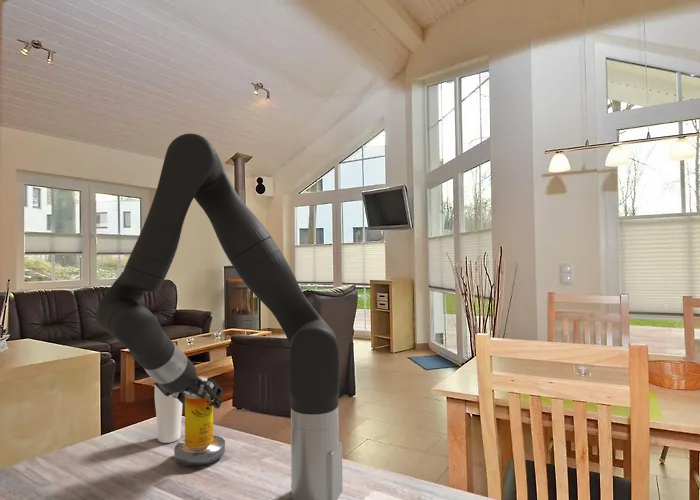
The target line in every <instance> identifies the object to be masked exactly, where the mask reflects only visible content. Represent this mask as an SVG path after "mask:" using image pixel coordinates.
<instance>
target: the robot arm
mask: <svg viewBox="0 0 700 500" xmlns="http://www.w3.org/2000/svg"><path fill="white" fill-rule="evenodd" d="M193 199H194V200H195V201H196V202H197V203H198V205H199V206H200V208H201V209H202V210H203V212H204V213H205V214H206V216H207V218H208V219H209V222H210V224H211V226H212V228H213V230H214V233H215V235H216V237H217V240H218V242H219V243H220V246H221V248H222V250H223V252H224V254H225V255H226V257H227V259H228V261H229V262H230V264H231V265H232V267H233V268H234V270H235V271H236V273H237V275H238V276H239V278H240V279H241V280H242V282H244V284H245V286H246V287H248V289H249V290H250V291H251V292H252V293H253V295H255V297H257V298H258V300H259V301H260V302H262V304H263V305H264V306H265V307H267V309H268V310H269V311H270V312H271V313H272V314H273V316H274V317H275V319H276V321H277V322H278V324H279V326H280V328H281V329H282V332H283V334H285V337H286V338H287V340H288V343H289V345H290V347H289V395H290V453H291V455H290V458H291V459H290V463H291V465H290V470H291V475H290V476H291V478H290V479H291V482H290V483H291V484H290V488H291V500H338V498H339V497H340V495H341V494H342V491H343V443H342V441H341V440H340V439H339V437H340V436H339V435H340V434H339V431H340V430H339V423H340V421H339V419H340V418H339V417H340V416H339V395H340V346H339V341H338V339H337V336H336V334H335V331H334V330H333V329H332V328H331V327H330V325H329V324H327V322H326V321H325V320H324V319H323V317H322V316H321V315H320V314H319V313H318V311H317V310H316V309H315V307H314V306H313V305H312V303H310V300H309V299H308V298H307V297H306V295H305V294H304V293H303V290H302V288H301V287H300V285H299V282H298V281H297V280H298V279H297V278H296V276H295V275H294V272H293V271H292V268H291V267H290V265H289V263H288V262H287V259H286V257H285V256H284V255H283V253H282V251H281V250H280V248H279V246H278V245H277V243H276V241H275V240H274V239H273V237H272V235H271V234H270V233H269V231H268V230H267V229H266V227H265V226H264V225H263V223H262V222H261V221H260V219H258V217H257V215H255V214H254V213H253V211H251V209H250V208H249V207H248V206H247V205H246V204H245V202H244V201H243V200H242V198H241V197H240V196H239V194H238V193H237V191H236V190H235V187H234V185H233V184H232V182H231V179H230V177H229V176H228V174H227V172H226V170H225V168H224V165H223V163H222V161H221V158H220V156H219V154H218V152H217V150H216V148H215V147H214V146H213V144H212V143H211V142H210V141H209V139H207V138H206V137H205V136H202V135H200V134H197V133H191V132H190V133H183V134H181V135H179V136H177V137H176V138H174V139H173V140H172V141H171V143H169V145H168V147H167V150H166V153H165V157H164V160H163V164H162V167H161V171H160V176H159V179H158V184H157V187H156V190H155V193H154V196H153V199H152V203H151V205H150V207H149V210H148V213H147V215H146V219H145V221H144V224H143V226H142V229H141V230H140V233H139V235H138V237H137V240H136V242H135V243H134V246H133V249H132V250H131V253H130V254H129V255H130V256H129V257H128V259H127V261H126V264H125V266H124V269H123V271H122V272H121V274H120V275H119V276H118V277H117V278H116V280H115V281H114V282H113V283H112V284H111V286H110V287H109V288H108V290H107V291H106V292H105V294H104V295H103V297H102V298H101V300H100V301H99V303H98V306H97V307H96V308H97V309H96V314H95V320H96V323H97V325H98V327H99V328H100V329H101V330H102V331H104V332H106V333H107V334H109V336H111V337H113V338H115V339H116V340H117V341H119V342H120V343H121V344H122V345H123V346H125V348H127V349H128V352H129V353H130V355H131V356H132V358H133V359H134V360H135V361H136V362H137V363H138V364H139V365H140V366H141V367H142V368H143V369H144V371H145V372H146V374H147V375H149V377H150V378H151V379H152V380H154V386H155V385H156V386H157V387H158V389H159V390H160V391H161V392H162V393H163V394H164V395H165V396H169V395H172V397H173V398H177V399H178V400H179V401H180V402H181V403H182V404H183V405H184V406H185V394H188V395H192V396H194V397H196V398H198V399H203V398H204V399H206V400H208V401H209V402H210V403H211V404H212V405H213V408H215V409H220V407H221V406H222V403H223V399H222V398H221V397H222V395H223V393H224V389H223V388H222V387H221V386H220V384H219V383H217V382H216V381H215V379H213V378H212V377H210V378H208V379H207V381H203V380H202V379H200V378H199V376H198V375H197V369H196V366H195V364H194V363H193V362H192V361H191V360H190V358H189V357H188V355H186V354H185V352H184V351H183V350H182V349H181V348H180V347H179V346H178V345H177V344H175V343H174V342H173V341H172V339H171V338H170V337H169V335H167V334H166V333H165V332H164V331H163V328H162V326H161V324H160V321H158V319H157V318H156V316H155V315H154V313H152V312H151V311H150V310H149V309H148V308H146V306H144V305H142V304H140V303H139V302H140V300H141V298H142V297H143V296H144V295H145V293H154V292H157V291H159V290H160V288H161V287H162V285H163V283H164V282H165V279H166V277H167V275H168V272H169V269H170V268H171V265H172V263H173V260H174V258H175V255H176V253H177V249H178V246H179V243H180V239H181V234H182V231H183V226H184V222H185V219H186V216H187V214H188V211H189V210H190V209H189V208H190V207H191V203H192V201H193ZM201 387H203V390H202V392H201V394H198V392H199V390H200V388H201ZM206 393H208V394H209V395H210V397H209V396H207V395H206ZM339 440H340V441H339Z"/></svg>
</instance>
